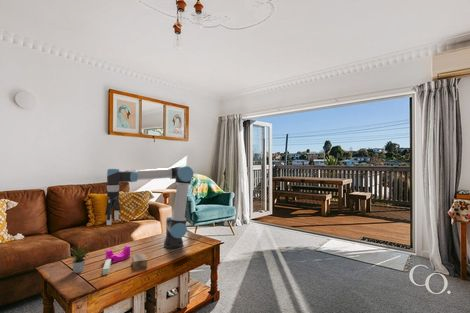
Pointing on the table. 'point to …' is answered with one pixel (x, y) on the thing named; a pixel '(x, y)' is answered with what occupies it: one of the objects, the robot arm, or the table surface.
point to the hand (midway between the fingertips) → (112, 222)
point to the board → (107, 266)
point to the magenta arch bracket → (120, 256)
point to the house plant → (78, 259)
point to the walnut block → (139, 261)
